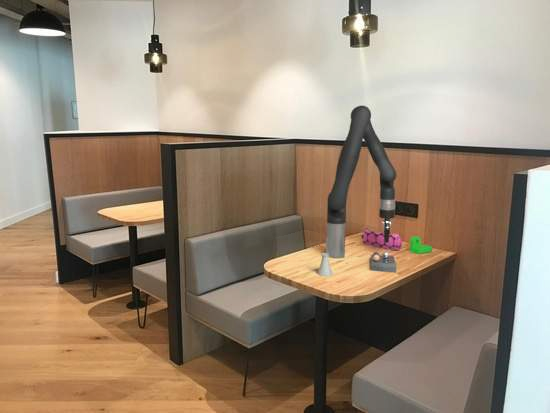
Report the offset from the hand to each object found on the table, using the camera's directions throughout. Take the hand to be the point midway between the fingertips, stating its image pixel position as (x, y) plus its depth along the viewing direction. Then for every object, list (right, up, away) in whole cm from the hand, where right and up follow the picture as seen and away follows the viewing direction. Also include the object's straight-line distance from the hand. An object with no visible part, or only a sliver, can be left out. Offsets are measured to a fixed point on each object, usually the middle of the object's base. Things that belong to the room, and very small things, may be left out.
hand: (386, 242), depth 218 cm
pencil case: (+3, -5, +23) cm, 24 cm away
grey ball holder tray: (-4, -11, -10) cm, 15 cm away
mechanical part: (+23, -6, +17) cm, 29 cm away
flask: (-33, -13, -24) cm, 43 cm away
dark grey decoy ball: (-7, -6, -7) cm, 11 cm away
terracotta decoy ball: (-8, -7, -11) cm, 15 cm away
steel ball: (-2, -6, -6) cm, 8 cm away
